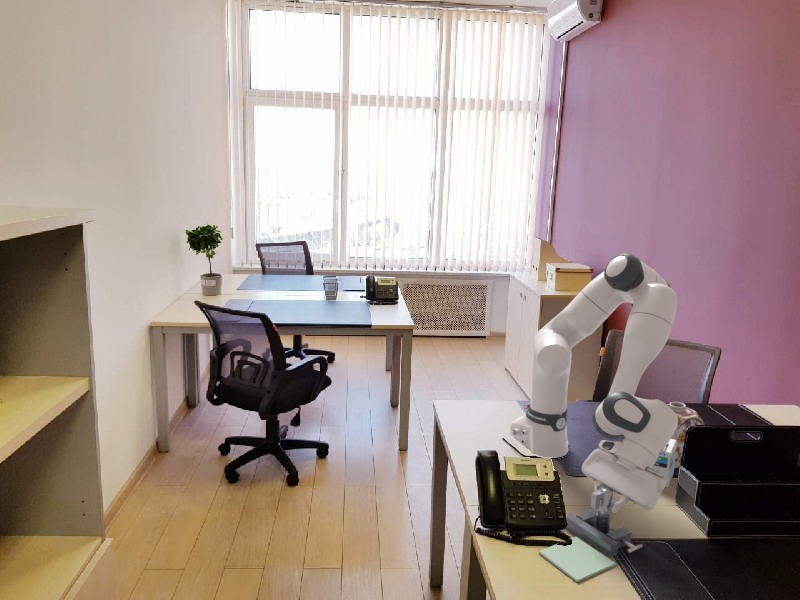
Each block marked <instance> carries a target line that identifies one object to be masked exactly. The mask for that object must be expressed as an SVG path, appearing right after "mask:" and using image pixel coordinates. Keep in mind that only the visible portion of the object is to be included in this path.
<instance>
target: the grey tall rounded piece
mask: <svg viewBox="0 0 800 600" xmlns="http://www.w3.org/2000/svg"><path fill="white" fill-rule="evenodd" d="M591 497H592V498H591ZM591 497H590V499H591V500H590V507H591V508H592V509H594V510H596V511H597V522H596V524H594V525H592V527H594V528H595V529H597V530H598V531H600V532H602V533H603V534H605V535H606V534H607V533H609V532H612V531H614V530H615V529H614V528H613V527H612V526H611V521H612V520H611V518H612V511H610V510H609V509H608V507H609V506H610V504H611V502H612V503H613V498H614V492H613V490H612V489H611V488H609V487H600V488H599V491H596V492H594V491H593V492H592V493H591Z"/></svg>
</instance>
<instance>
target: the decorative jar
mask: <svg viewBox="0 0 800 600" xmlns="http://www.w3.org/2000/svg"><path fill="white" fill-rule="evenodd" d="M667 404H668V405H669V406H670V407H671V408H672V409H673V410H674V411H675V413H676V415H677V417H678V424H677V427H676V430H675V432H674V434H673V435H672V437H671V439H674V440H677V445H676V455H675V464H674V470H675V469H677V468H680V467H679V465H680V461H681V457H682V452H683V446H684V439H685V432H686V429H687V428H688V427H689V426H696V425H704V426H705V422H704V421H703V419H702V418H701V416H700V415H699V414H698V412H697V411H696V410H694V409H692V408H689V407H687V405H686V404H685V403H683V402H680V401H671V402H669V403H667Z"/></svg>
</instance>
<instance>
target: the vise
mask: <svg viewBox="0 0 800 600" xmlns="http://www.w3.org/2000/svg"><path fill="white" fill-rule="evenodd" d="M566 515H567V521H568V526H567V528H566V530H568V531H570V532H571V533H572V534H574V535H576V537H578V538H579V539H581V540H582V541H584V542H585V543H587V544H588V545H589V546H591V547H592V548H594V549H595V550H597V551H598V552H600V553H601V554H603V555H604V556H606V557H607V558H612V557H614V556H615V557H616V556H618V550H619V549H622V548H624V547H626V546H627V547H628V548H627V550H626V552H627V553H628V554H630V553H633V552H635V551H637V550H639V549H641V548H643V547H644V546H643V544H642V543H640V544H636V545H634V543H632V534H633V533H632V531H630V530H629V529H627V528H626V527H624V526H622V527H619V528H617V529H614V531H612V532H609V533H607V534H606V535H605V534H603V533H602V532H600V531H598V530H597V529H595V528H594V527H592V525H594V524H596V522H597V509H594V508H592V509H588V510H586V511H583V512H581V513H578V514H576V515H575V514H574V513H572V512H570V513H566Z"/></svg>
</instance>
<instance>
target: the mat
mask: <svg viewBox="0 0 800 600" xmlns="http://www.w3.org/2000/svg"><path fill="white" fill-rule="evenodd" d="M570 539H572V544H571V545H567V546H563V545H557V544H558V543H556V544H554V545H550V546H548V547H545V548H544V549H541V550H539V551H538V554H539V555H540V556H541V557H543V558H544V559H545V560H546V561H548V562H549V563H550V564H552V565H553V566H555V567H556V568H557V569H558V570H560V571H561V572H562V573H564V574H565V575H566V576H568V577H569V578H570V579H571V580H573V581H574V582H575V583H579V582H582V581H585V580H586V579H588V578H591V577H594V576H595V575H598V574H599V573H601V572H604V571H606V570H609V569H611V568H613V567H615V566H616V562H614V561H613V560H611V558H610V557H608V556H607V555H605V554H604V553H602V552H601V551H599V550H598V549H596V548H595V547H593V546H592V545H590V544H589V543H587V542H586V541H584V540H583V539H581V538H580V537H578V536H573V537H571V538H570Z"/></svg>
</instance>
